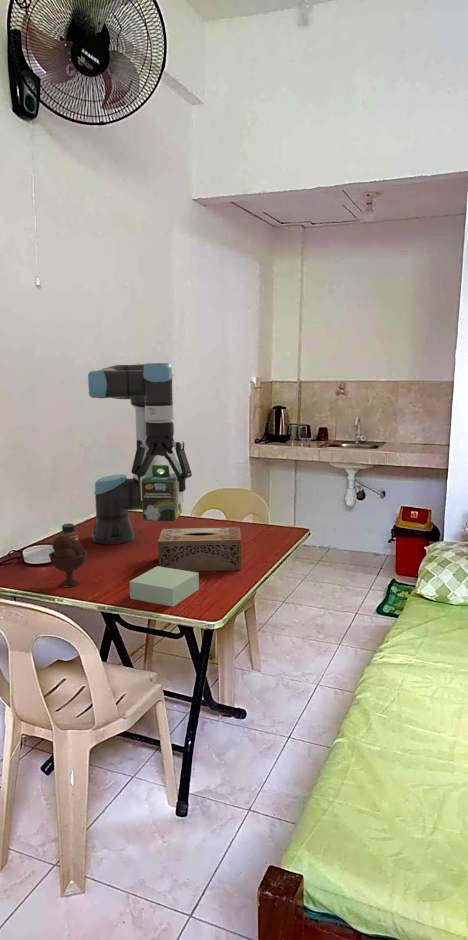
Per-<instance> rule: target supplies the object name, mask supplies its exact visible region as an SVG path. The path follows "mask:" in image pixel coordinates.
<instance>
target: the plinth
mask: <svg viewBox="0 0 468 940" xmlns="http://www.w3.org/2000/svg"><path fill="white" fill-rule="evenodd" d="M199 580H200V577H199V572H198V571H184V570H178V569H172V568H165V567H159V565H157V566H155V567H153V568H150V569H149V570H148V571H146V572H144V573H142V574H140V575H139V576H137V577H134V578H133V579H131V580H129V598H130V599H132V600H136V601H141V602H147V603H152V604H157V605H163V606H167V607H168V606H169V607H176V606H177V605H178V604H180V603H181V602H182V601H184V600H186V599H187V598H189V597H190V596H191V595H193V594H194V593H196V592H197V591H199V589H200V583H199V582H200V581H199Z"/></svg>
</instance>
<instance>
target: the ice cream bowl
mask: <svg viewBox="0 0 468 940" xmlns="http://www.w3.org/2000/svg"><path fill="white" fill-rule="evenodd" d="M51 545H52V548H53V551H51V552H50V553H49V554H48V556H49V560H50V562H51V564H52V566H53V567H54V568H55V569H57V570H58V571H61V572H65V574H66V579H64V580H62V581H61V582H60V584H61V585H62V586H74V587H77V586H78V584H79V585H80V582H79V579H75V578H74V577H73V572H74V571H76V570H78V569H80V567H82V566H83V564H85V562H86V561H87V557H88V551H87V550H86V549H84V546H83V544H82V543H81V542H80V541H79V539H78V540H76V539H72V538H70V537H69V536H65V535H62V536H60V535H59V536H56V537H55V538H54V539H53V541H52V544H51ZM61 585H60V586H61ZM76 585H77V586H76Z"/></svg>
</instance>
